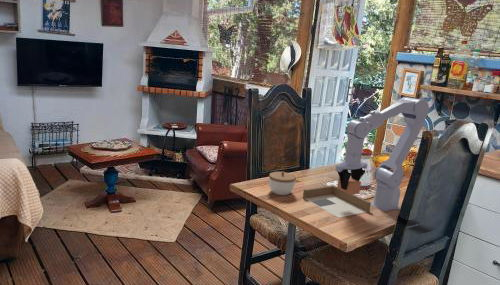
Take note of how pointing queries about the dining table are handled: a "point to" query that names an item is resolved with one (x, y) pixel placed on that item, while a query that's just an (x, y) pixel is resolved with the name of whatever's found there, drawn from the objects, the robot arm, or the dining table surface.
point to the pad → (323, 202)
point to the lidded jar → (281, 182)
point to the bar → (350, 186)
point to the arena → (337, 201)
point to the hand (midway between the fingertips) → (348, 188)
